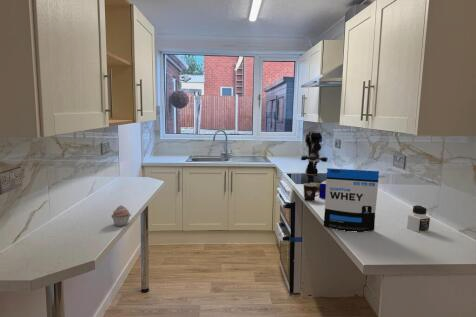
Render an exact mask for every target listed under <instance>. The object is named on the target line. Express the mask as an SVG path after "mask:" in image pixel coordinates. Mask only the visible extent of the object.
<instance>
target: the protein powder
mask: <svg viewBox="0 0 476 317" xmlns="http://www.w3.org/2000/svg"><path fill="white" fill-rule="evenodd" d="M326 170H327V171H326V177H325V178H326V179H325V181H326V197H325V199H324V200H325V201H324V216H323V227H327V228H329V229H332V230H336V229H337V230H336V231H340V230H345V231H344V232H347V231H357V232H356V233H365V232H364V231H368V232H372V231H371V230H374V231H375V223H376V221H375V220H376V210H377V200H378V199H377V198H378V190H379V178H380V177H379V176H380V171H379V170H378V171H377V170H364V169H349V168H348V169H345V168H332V167H331V168H330V167H328V168H326Z"/></svg>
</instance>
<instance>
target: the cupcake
mask: <svg viewBox="0 0 476 317" xmlns="http://www.w3.org/2000/svg"><path fill="white" fill-rule="evenodd" d="M112 212H113V213H112V215H110V216H111V218H112V220H113V224H114V226H115V227H125V226H127V225H129V220H130V217H131V215H132V214H131V213H130V212H129V210H128V209H127V207H125V206H124V205H122V204H121V205H119V206H117V208H116V209H114V210H113V211H112Z"/></svg>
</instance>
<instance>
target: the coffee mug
mask: <svg viewBox="0 0 476 317" xmlns="http://www.w3.org/2000/svg"><path fill="white" fill-rule="evenodd" d="M319 188H320V187H319ZM319 188H317V185H316V184H311V183H306V182H305V183H303V197H304V201H306V202H314V201H315V199H316V197H317V196H319V195H320V194H321V193H322V192H323V189H322V188H320V189H322V192H321V193H320V192H319V193H320V194H319V193H318V194H317V192H316V191H317V189H319Z"/></svg>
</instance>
